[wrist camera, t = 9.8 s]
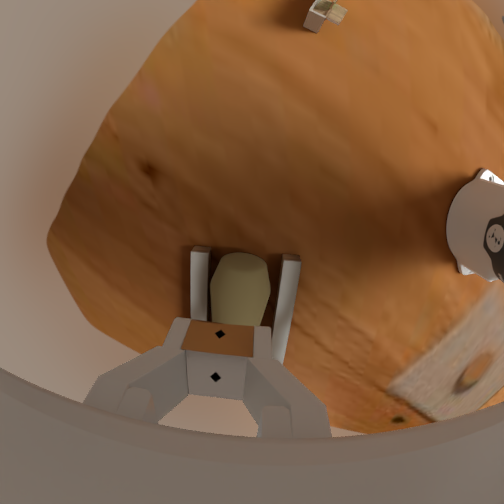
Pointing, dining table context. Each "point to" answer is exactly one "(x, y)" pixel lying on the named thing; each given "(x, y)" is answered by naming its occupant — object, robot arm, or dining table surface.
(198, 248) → the cradle
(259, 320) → the squeeze bottle
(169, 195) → the dining table surface
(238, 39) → the dining table surface
